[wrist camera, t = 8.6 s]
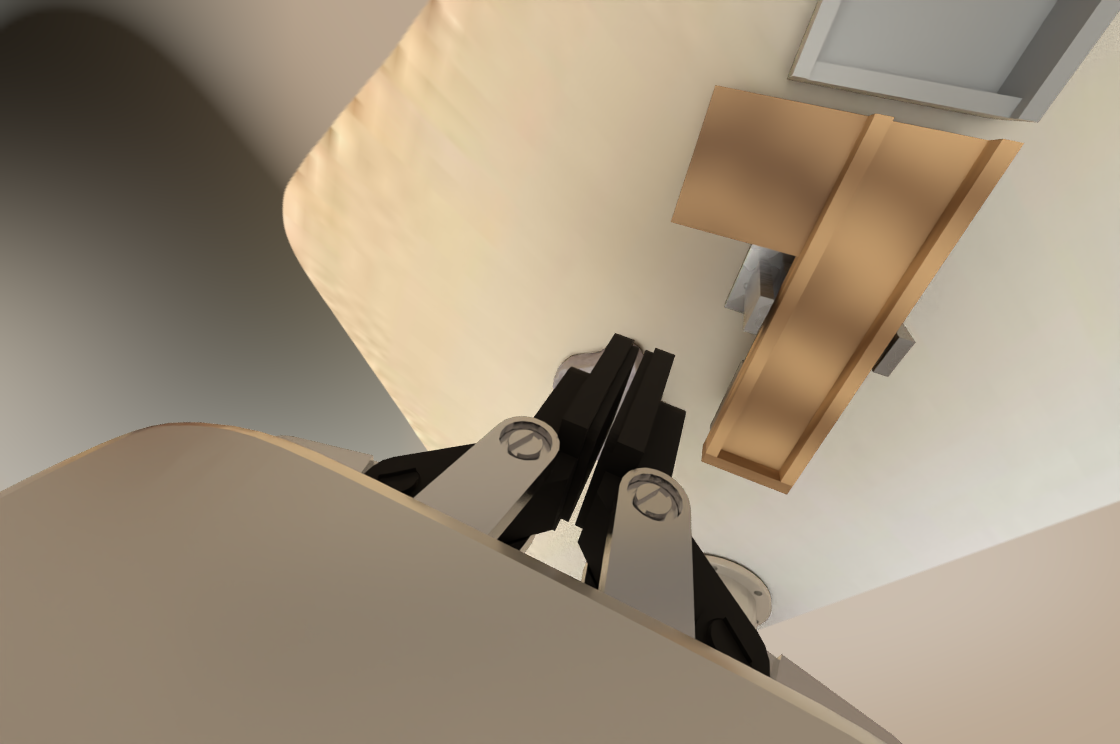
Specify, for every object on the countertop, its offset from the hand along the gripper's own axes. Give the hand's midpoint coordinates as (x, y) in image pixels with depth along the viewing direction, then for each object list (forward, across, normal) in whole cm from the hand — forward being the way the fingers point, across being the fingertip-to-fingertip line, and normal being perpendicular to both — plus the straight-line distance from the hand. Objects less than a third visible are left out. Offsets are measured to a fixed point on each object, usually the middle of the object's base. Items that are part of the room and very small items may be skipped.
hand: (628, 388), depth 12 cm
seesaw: (+20, -5, +4) cm, 21 cm away
